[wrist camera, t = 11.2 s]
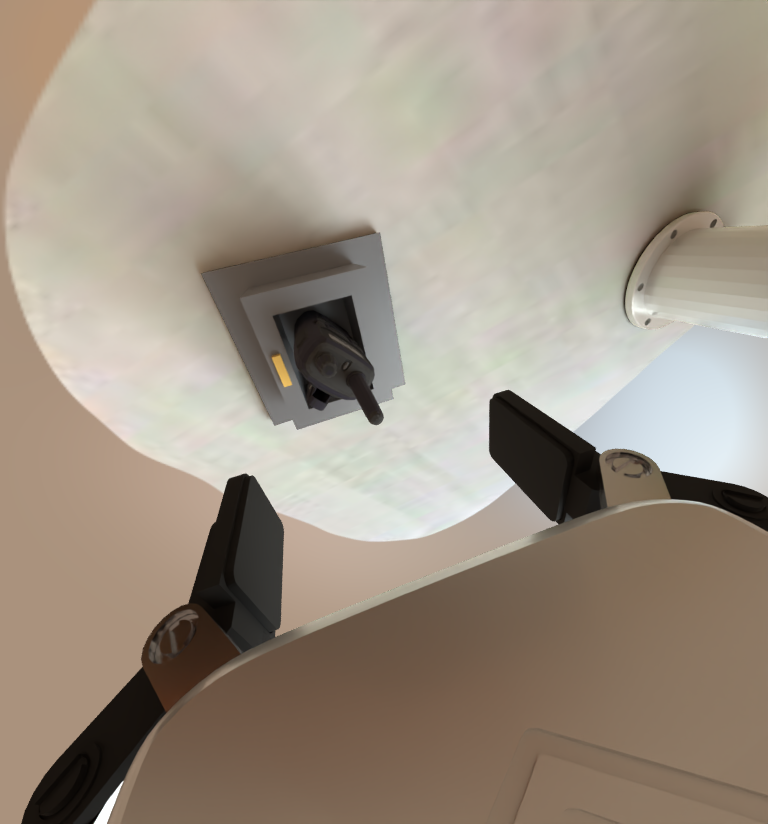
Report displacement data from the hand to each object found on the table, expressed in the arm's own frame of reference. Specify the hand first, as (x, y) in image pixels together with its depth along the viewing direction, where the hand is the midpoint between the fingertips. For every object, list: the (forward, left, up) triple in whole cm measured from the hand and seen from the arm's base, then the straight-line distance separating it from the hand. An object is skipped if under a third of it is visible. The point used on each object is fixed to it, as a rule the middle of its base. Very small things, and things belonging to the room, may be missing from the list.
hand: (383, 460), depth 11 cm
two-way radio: (+1, 0, -18) cm, 18 cm away
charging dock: (+1, 0, -19) cm, 19 cm away
